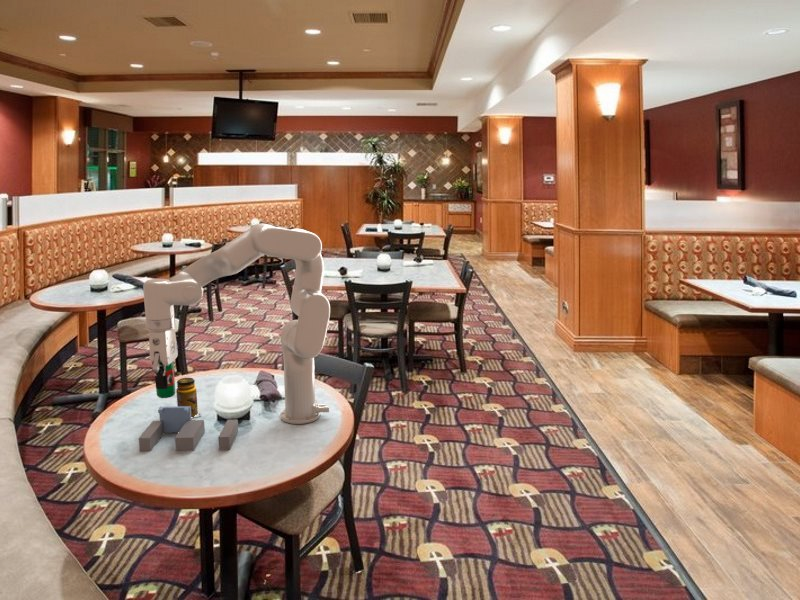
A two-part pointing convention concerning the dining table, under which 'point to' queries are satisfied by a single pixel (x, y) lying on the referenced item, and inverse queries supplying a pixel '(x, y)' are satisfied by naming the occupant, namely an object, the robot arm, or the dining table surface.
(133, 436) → the dining table surface
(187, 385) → the condiment
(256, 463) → the dining table surface
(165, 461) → the dining table surface
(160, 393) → the soda can
